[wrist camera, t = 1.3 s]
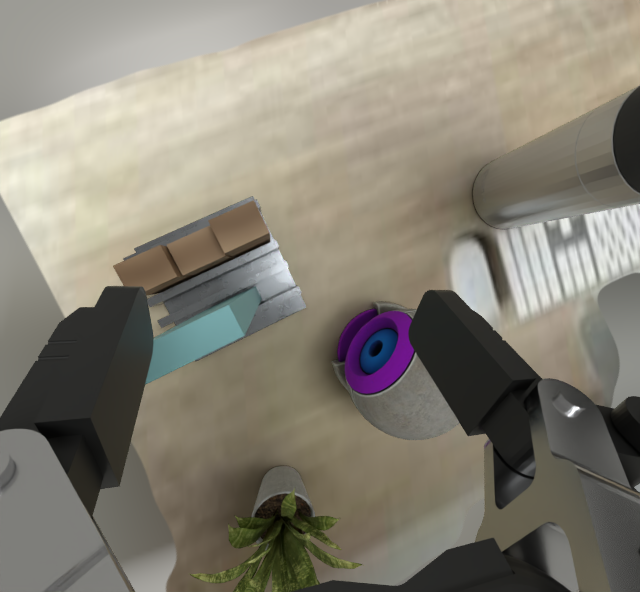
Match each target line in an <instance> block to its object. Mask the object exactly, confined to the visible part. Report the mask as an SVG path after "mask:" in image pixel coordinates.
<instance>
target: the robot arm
mask: <svg viewBox="0 0 640 592" xmlns="http://www.w3.org/2000/svg"><path fill="white" fill-rule="evenodd" d="M473 200H474V205H475V208H476V210H477V212H478V214H479V216H480V217H481V218H482V219H483V220H484V221H485V222H486V223H487V224H489V225H490V226H492V227H495V228H498V229H509V228H515V227H520V226H525V225H531V224H537V223H542V222H547V221H552V220H558V219H563V218H568V217H573V216H579V215H584V214H589V213H594V212H600V211H605V210H610V209H615V208H620V207H625V206H630V205H635V204H640V86H638V87H636V88H634V89H632V90H630V91H628V92H626V93H624V94H622V95H620V96H619V97H617V98H615V99H613V100H611V101H609V102H607V103H605V104H603V105H601V106H599V107H597V108H595V109H593V110H592V111H590V112H588V113H586V114H584V115H582V116H580V117H578V118H576V119H574V120H572V121H570V122H568V123H566V124H564V125H562V126H560V127H558V128H556V129H554V130H552V131H550V132H549V133H547V134H545V135H543V136H541V137H539V138H537V139H535V140H533V141H531V142H529V143H527V144H525V145H523V146H521V147H519V148H517V149H515V150H513V151H511V152H509V153H507V154H505V155H503V156H501V157H499V158H498V159H496V160H494V161H492V162H490V163H489V164H487V165H486V166H485V167H484V168H483V169H482V170H481V171H480V173H479V174H478V176H477V178H476V180H475V183H474V188H473ZM408 335H409V341H410V344H411V346H412V347H413V349H414V351H415V352H416V354H417V355H418V357H419V359H420V360H421V362H422V363H423V365H424V367H425V368H426V370H427V371H428V373H429V375H430V376H431V378H432V379H433V381H434V383H435V384H436V386H437V387H438V389H439V391H440V392H441V394H442V395H443V397H444V399H445V400H446V402H447V403H448V405H449V407H450V408H451V410H452V411H453V413H454V415H455V416H456V418H457V419H458V421H459V423H460V424H461V426H462V427H463V429H464V430H465V432H466V434H467V435H468V436H472V435H479V434H486V435H487V436H488V438H489V439H488V440H487V442H486V443H485V446H484V494H485V512H484V518H483V521H482V524H481V526H480V528H479V530H478V533H477V536H476V540H475V543H471V544H467V545H464V546H460V547H456V548H452V549H448V550H446V551H445V552H444V553H442V554H441V555H440V556H439V557H437V558H436V559H435V560H434V561H432V562H431V563H430V564H429V565H427V566H426V567H425V568H423V569H422V570H421V571H420V572H418V573H417V574H416V575H414V576H413V577H412V578H411V579H409V580H408V581H407V582H406V583H404V584H402V585H399V586H389V585H378V584H367V583H356V582H345V581H335V580H332V581H329V582H325V583H321V584H317V585H314V586H310V587H306V588H302V589H299V590H295V591H291V592H575V591H578V590H579V592H640V492H638V491H637V490H636V489H635V488H634V487H635V486H636V485H638V484H639V483H640V397H636V396H632V397H628V398H627V399H625V400H624V401H623V402H622V403H621V404H619V405H618V406H617V407H616V408H615V409H613V408H609V407H604V406H599V405H595V404H594V403H593V402H592V401H591V400H590V399H589V398H588V397H587V396H586V395H585V394H583V393H582V392H581V391H579V390H578V389H576V388H575V387H573V386H571V385H569V384H567V383H565V382H562V381H559V380H556V379H550V378H548V379H542V378H541V377H540V376H539V375H538V374H537V373H536V372H535V371H534V370H533V369H532V368H531V367H530V366H529V365H528V364H527V363H526V362H525V361H524V360H523V359H522V358H521V357H520V356H519V355H518V354H517V353H516V351H515V350H514V349H513V348H512V347H511V346H510V345H509V344H508V343H507V342H506V341H503V340H502V337H501V336H500V335H499V334H498V333H497V332H496V331H495V330H493V328H492V327H491V326H490V324H489V323H488V322H487V321H486V320H485V319H484V318H483V317H482V316H481V315H479V314H478V313H476V312H475V311H473V310H472V309H471V308H470V307H469V306H468V305H467V304H466V303H465V302H464V301H463V300H462V299H461V298H460V297H459V296H458V295H457V294H456V293H455V292H454V291H451V290H429V291H427V292H426V293H425V294H424V295H423V297H422V300H421V302H420V304H419V306H418V309H417V311H416V313H415V315H414V318H413V320H412V322H411V324H410V327H409V332H408ZM152 354H153V330H152V325H151V319H150V314H149V308H148V303H147V297H146V292H145V289H144V288H143V287H142V286H107V287H105V289H104V290H103V292H102V294H101V296H100V298H99V300H98V302H97V304H96V305H95V307H80V308H78V309H77V310H76V311H74V312H73V313H72V314H71V315H69V316H68V317H67V318H65V319H64V320H63V321H61V322H60V323H59V324H58V326H57V328H56V329H55V331H54V332H53V334H52V336H51V338H50V339H49V340H48V345H45V347H44V349H43V350H42V352H41V353H40V355H39V356H38V358H39V359H38V361H35V363H34V364H33V366H32V368H31V369H30V371H29V372H28V374H27V376H26V377H25V379H24V380H23V382H22V384H21V385H20V387H19V388H18V390H17V392H16V393H15V395H14V397H13V398H12V400H11V401H10V403H9V404H8V406H7V408H6V409H5V411H4V412H3V414H2V416H1V417H0V592H135V591H134V589H133V587H132V585H131V583H130V581H129V580H128V578H127V576H126V574H125V573H124V571H123V569H122V567H121V565H120V564H119V562H118V560H117V558H116V556H115V555H114V553H113V551H112V549H111V548H110V546H109V544H108V542H107V540H106V539H105V537H104V535H103V533H102V532H101V530H100V528H99V526H98V524H97V523H96V521H95V519H94V517H93V512H94V508H95V505H96V501H97V498H98V495H99V491H100V489H104V488H111V487H118V486H120V482H121V477H122V474H123V470H124V466H125V462H126V457H127V454H128V450H129V446H130V442H131V438H132V434H133V430H134V426H135V422H136V418H137V414H138V410H139V406H140V402H141V398H142V394H143V390H144V386H145V382H146V378H147V374H148V370H149V366H150V362H151V359H152Z"/></svg>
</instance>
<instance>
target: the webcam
mask: <svg viewBox="0 0 640 592" xmlns="http://www.w3.org/2000/svg"><path fill="white" fill-rule="evenodd" d="M373 304H374V308H375V309H370V310H367V311H365V312H363V313H361V314H359V315H357V316H356V317H355V318H354V319H352V320H351V321H350V322H349V323H348V325H347V326H346V327H345V329H344V331H343V332H342V334H341V337H340V340H339V343H338V350H337V354H338V360H334V361H332V365H333V368H334V371H335V373H336V376H337V377H338V379H339V381H340V382H341V384H342V385H343V386H344V387H345V388H346V389H347V390H348V391H349V394H350V397H351V399H352V401H353V403H354V404H355V406H356V408H357V409H358V410H359V412H360V413H361V414H362V415H363V417H364V418H365V419H366V420H367V421H369V422H370V423H371V424H372V425H373V426H375V427H376V428H378V429H379V430H381V431H383V432H385V433H386V434H389V435H391V436H394V437H397V438H402V439H407V440H423V439H430V438H434V437H437V436H439V435H442V434H444V433H446V432H448V431H449V430H451V429H453V428H454V427H455V426H456V425H458V424H459V421H458V419H457V418H456V416H455V415H454V413H453V411H452V410H451V408H450V407H449V405H448V403H447V402H446V400H445V399H444V397H443V395H442V394H441V392H440V391H439V389H438V387H437V386H436V384H435V383H434V381H433V379H432V378H431V376H430V375H429V373H428V371H427V370H426V368H425V367H424V365H423V363H422V362H421V360H420V359H419V357H418V355H417V354H416V352H415V351H414V349H413V347H412V346H411V344H410V341H409V335H408V332H409V327H410V324H411V322H412V320H413V318H414V315H415V313H416V311H417V310H416V309H407V308H405V307H403V306H401V305H398V304H395V303H390V302H373Z"/></svg>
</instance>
